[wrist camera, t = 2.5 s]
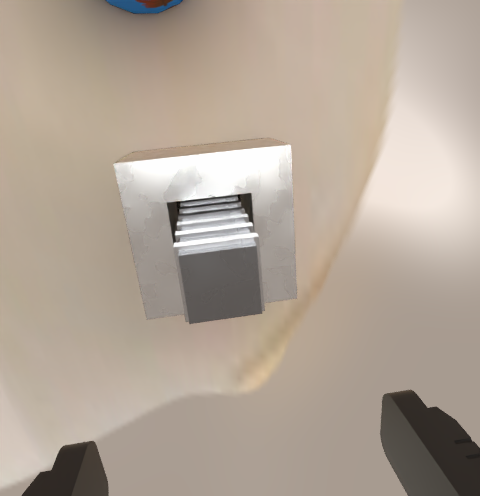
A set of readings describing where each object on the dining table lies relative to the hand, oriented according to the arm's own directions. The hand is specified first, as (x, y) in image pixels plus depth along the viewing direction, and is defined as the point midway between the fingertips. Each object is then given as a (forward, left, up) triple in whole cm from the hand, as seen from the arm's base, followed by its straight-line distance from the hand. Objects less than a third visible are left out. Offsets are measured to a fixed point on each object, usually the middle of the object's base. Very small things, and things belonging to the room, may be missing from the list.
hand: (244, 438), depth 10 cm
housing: (0, 0, -26) cm, 26 cm away
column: (0, 0, -26) cm, 26 cm away
